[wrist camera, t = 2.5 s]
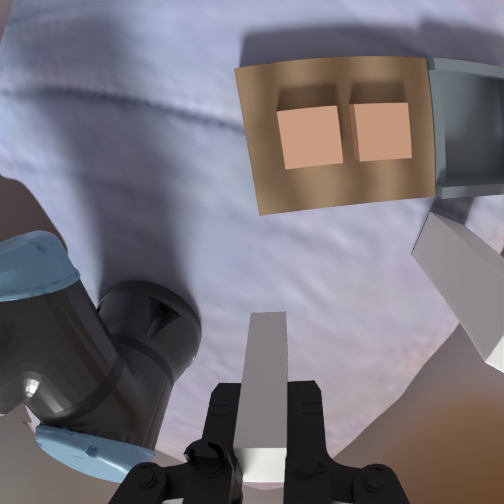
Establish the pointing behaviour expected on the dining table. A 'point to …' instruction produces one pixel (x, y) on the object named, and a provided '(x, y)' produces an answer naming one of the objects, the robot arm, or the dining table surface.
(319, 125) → the tile
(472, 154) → the tray
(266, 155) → the board
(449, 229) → the milk
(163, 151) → the dining table surface
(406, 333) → the dining table surface
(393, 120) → the tile
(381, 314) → the dining table surface
